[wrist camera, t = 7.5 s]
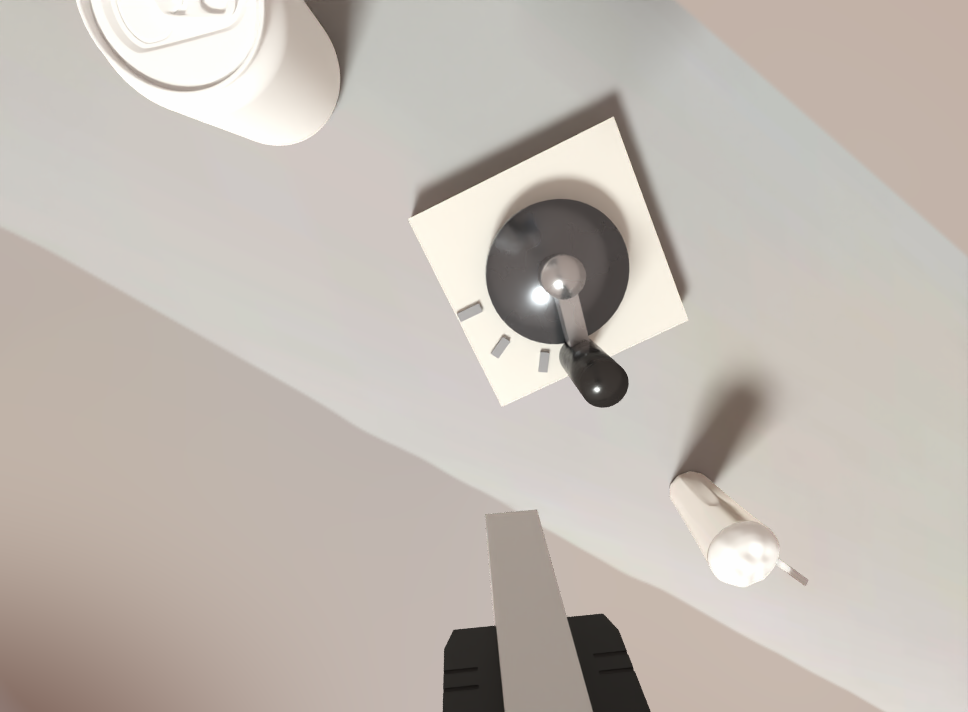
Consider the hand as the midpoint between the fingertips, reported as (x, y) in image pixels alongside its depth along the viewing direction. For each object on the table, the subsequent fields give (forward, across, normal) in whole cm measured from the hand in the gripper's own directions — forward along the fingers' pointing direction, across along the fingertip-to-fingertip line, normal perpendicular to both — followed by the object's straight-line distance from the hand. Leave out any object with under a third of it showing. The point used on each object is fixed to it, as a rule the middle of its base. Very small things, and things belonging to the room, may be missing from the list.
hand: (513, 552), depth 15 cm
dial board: (+23, +5, +6) cm, 24 cm away
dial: (+20, +5, +4) cm, 21 cm away
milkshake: (+23, +16, -13) cm, 31 cm away
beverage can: (+23, -11, +18) cm, 31 cm away
